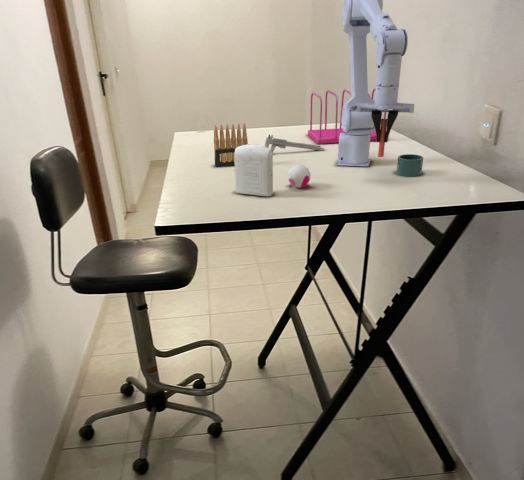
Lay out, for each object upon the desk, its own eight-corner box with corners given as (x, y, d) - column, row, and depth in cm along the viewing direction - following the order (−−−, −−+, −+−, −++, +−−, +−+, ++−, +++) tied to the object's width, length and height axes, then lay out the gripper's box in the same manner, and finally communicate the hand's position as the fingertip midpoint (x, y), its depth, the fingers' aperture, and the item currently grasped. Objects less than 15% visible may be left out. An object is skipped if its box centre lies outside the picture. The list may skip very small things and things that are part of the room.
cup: (395, 175, 150) (397, 159, 148) (396, 169, 156) (398, 153, 154) (421, 177, 149) (423, 160, 146) (421, 170, 154) (423, 154, 152)
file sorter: (385, 140, 189) (390, 92, 180) (317, 144, 186) (319, 95, 178) (371, 131, 203) (374, 86, 195) (307, 134, 201) (308, 89, 192)
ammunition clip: (248, 163, 167) (246, 122, 160) (249, 164, 165) (247, 123, 159) (214, 165, 165) (211, 124, 159) (215, 167, 164) (212, 125, 157)
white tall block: (275, 193, 139) (275, 144, 133) (269, 197, 136) (268, 147, 129) (239, 189, 143) (237, 141, 136) (233, 194, 139) (230, 145, 133)
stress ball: (301, 203, 142) (315, 184, 138) (278, 184, 141) (291, 164, 137) (309, 194, 148) (323, 175, 143) (287, 176, 147) (300, 156, 143)
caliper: (265, 154, 176) (265, 134, 172) (265, 154, 177) (264, 134, 173) (324, 150, 179) (324, 130, 176) (323, 149, 180) (323, 130, 177)
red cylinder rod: (377, 157, 143) (381, 119, 138) (378, 155, 144) (381, 118, 139) (383, 157, 143) (387, 119, 137) (383, 155, 144) (387, 118, 139)
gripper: (357, 87, 132) (353, 143, 140) (416, 87, 129) (409, 145, 136) (359, 83, 138) (356, 138, 145) (417, 83, 135) (410, 139, 142)
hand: (382, 141), depth 141 cm, fingers closed on red cylinder rod, 1 cm apart
